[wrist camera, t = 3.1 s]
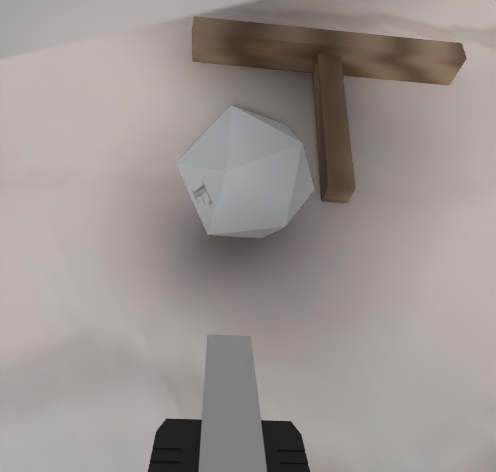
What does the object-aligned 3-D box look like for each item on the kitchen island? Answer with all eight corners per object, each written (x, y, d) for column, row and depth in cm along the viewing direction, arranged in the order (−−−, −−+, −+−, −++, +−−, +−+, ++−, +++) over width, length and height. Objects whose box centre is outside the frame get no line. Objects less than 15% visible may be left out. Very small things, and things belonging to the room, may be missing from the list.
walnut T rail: (445, 70, 41) (461, 43, 39) (484, 212, 34) (507, 191, 31) (194, 46, 40) (193, 16, 37) (176, 190, 32) (174, 166, 29)
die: (194, 157, 35) (134, 140, 25) (291, 106, 32) (265, 67, 23) (235, 250, 34) (190, 268, 25) (336, 205, 32) (328, 206, 23)
